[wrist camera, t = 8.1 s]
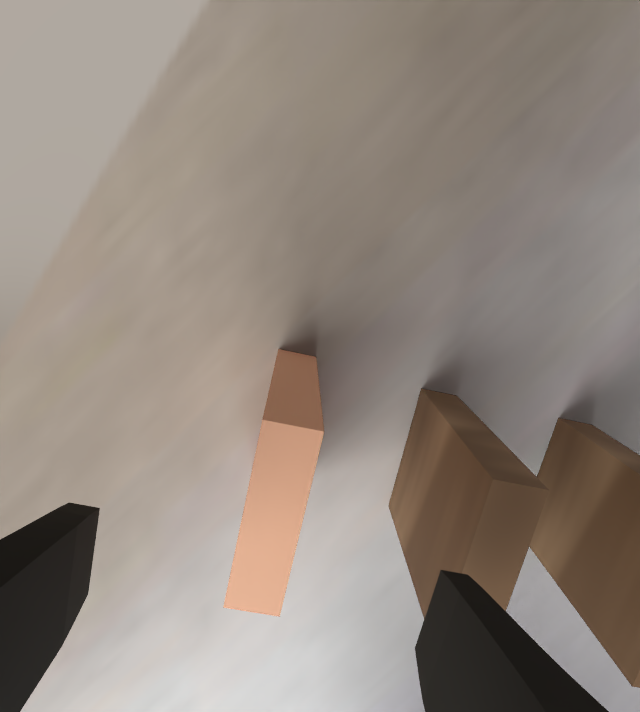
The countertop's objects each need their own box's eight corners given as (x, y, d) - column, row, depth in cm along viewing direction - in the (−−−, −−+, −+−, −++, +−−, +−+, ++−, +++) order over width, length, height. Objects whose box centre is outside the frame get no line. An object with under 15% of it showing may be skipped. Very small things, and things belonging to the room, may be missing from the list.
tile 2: (456, 395, 18) (549, 490, 11) (422, 511, 19) (487, 662, 12) (421, 388, 18) (492, 479, 11) (388, 505, 19) (435, 653, 12)
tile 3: (592, 424, 18) (759, 532, 12) (549, 536, 20) (680, 694, 13) (558, 417, 18) (708, 522, 12) (517, 530, 19) (632, 686, 13)
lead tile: (316, 356, 17) (324, 431, 11) (288, 478, 19) (279, 616, 12) (278, 349, 17) (262, 419, 11) (252, 471, 18) (223, 607, 12)
